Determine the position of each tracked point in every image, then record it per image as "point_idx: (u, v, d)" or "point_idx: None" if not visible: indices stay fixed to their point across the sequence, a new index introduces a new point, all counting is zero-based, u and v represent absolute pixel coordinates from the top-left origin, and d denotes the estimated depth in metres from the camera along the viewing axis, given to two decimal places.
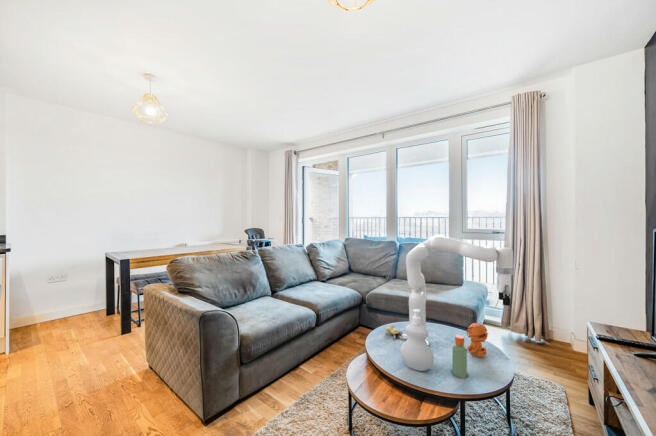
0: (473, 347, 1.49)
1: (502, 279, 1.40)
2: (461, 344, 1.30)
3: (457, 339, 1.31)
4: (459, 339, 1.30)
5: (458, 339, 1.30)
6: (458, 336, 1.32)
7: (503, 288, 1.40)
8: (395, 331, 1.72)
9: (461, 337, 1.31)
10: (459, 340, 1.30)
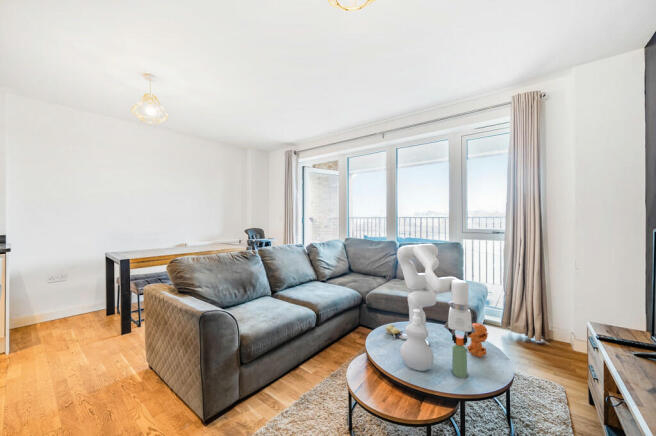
0: (473, 347, 1.49)
1: (470, 316, 1.28)
2: (461, 344, 1.30)
3: (457, 339, 1.31)
4: (459, 339, 1.30)
5: (458, 339, 1.30)
6: (458, 336, 1.32)
7: (471, 325, 1.28)
8: (395, 331, 1.72)
9: (461, 337, 1.31)
10: (459, 340, 1.30)
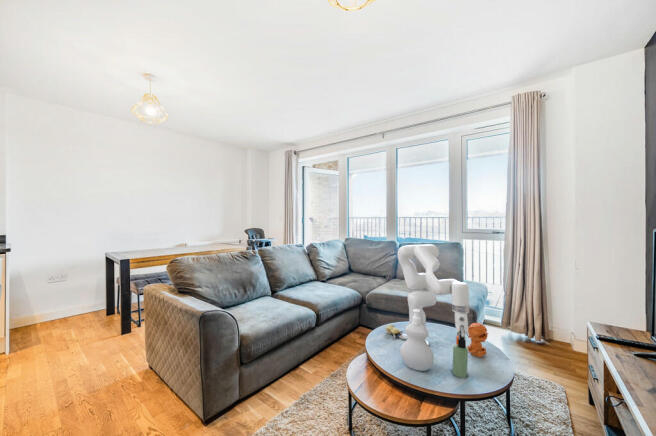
0: (473, 347, 1.49)
1: None
2: None
3: None
4: (465, 339, 1.30)
5: (465, 339, 1.30)
6: None
7: None
8: (395, 331, 1.72)
9: None
10: None
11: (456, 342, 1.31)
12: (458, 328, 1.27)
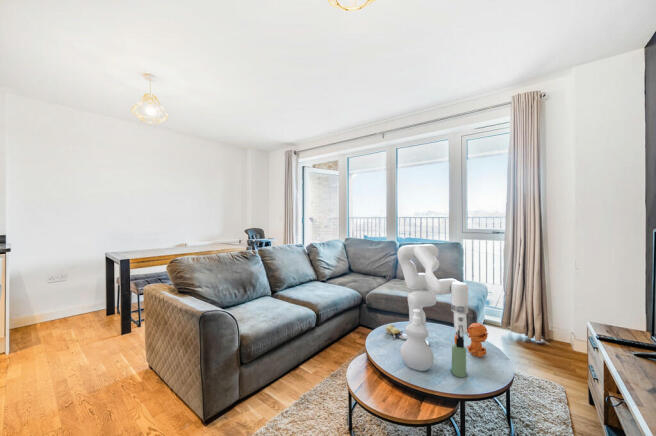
0: (473, 347, 1.49)
1: None
2: None
3: None
4: None
5: None
6: None
7: None
8: (395, 331, 1.72)
9: None
10: None
11: None
12: (457, 328, 1.28)
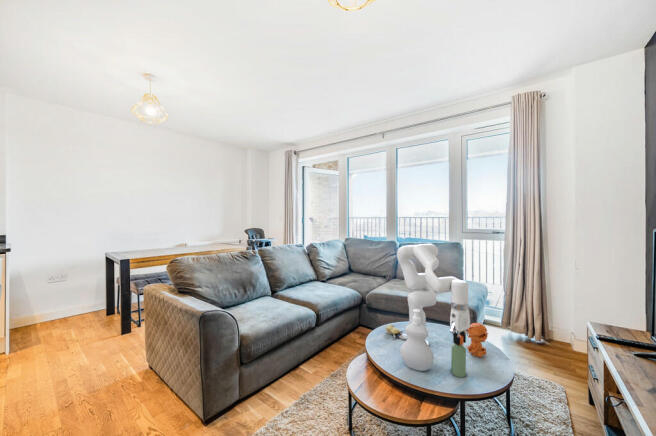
0: (473, 347, 1.49)
1: None
2: None
3: None
4: None
5: None
6: (459, 336, 1.32)
7: None
8: (395, 331, 1.72)
9: None
10: None
11: None
12: (450, 323, 1.30)
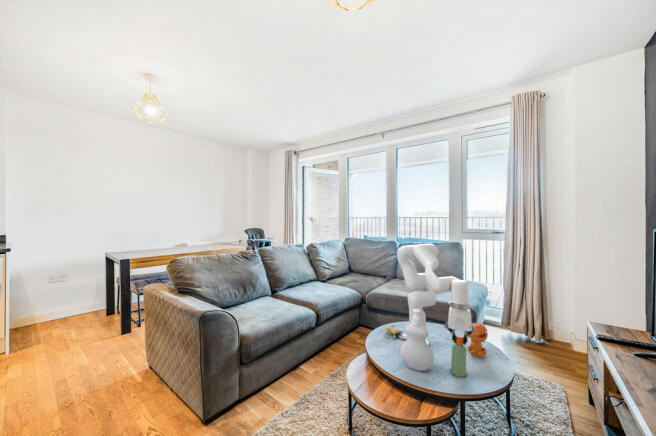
0: (473, 347, 1.49)
1: (470, 316, 1.28)
2: None
3: None
4: None
5: None
6: (460, 336, 1.32)
7: (471, 325, 1.28)
8: (395, 331, 1.72)
9: (457, 335, 1.33)
10: None
11: (461, 343, 1.30)
12: None
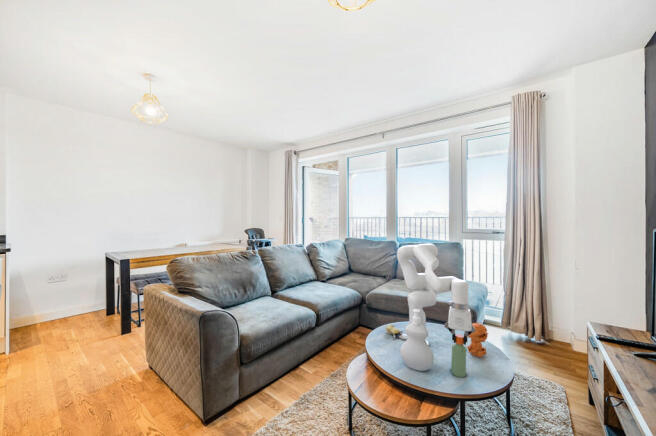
0: (473, 347, 1.49)
1: (470, 315, 1.28)
2: (455, 341, 1.32)
3: None
4: (455, 336, 1.33)
5: (455, 336, 1.33)
6: (459, 335, 1.32)
7: (471, 325, 1.28)
8: (395, 331, 1.72)
9: (458, 336, 1.31)
10: (455, 337, 1.33)
11: None
12: None
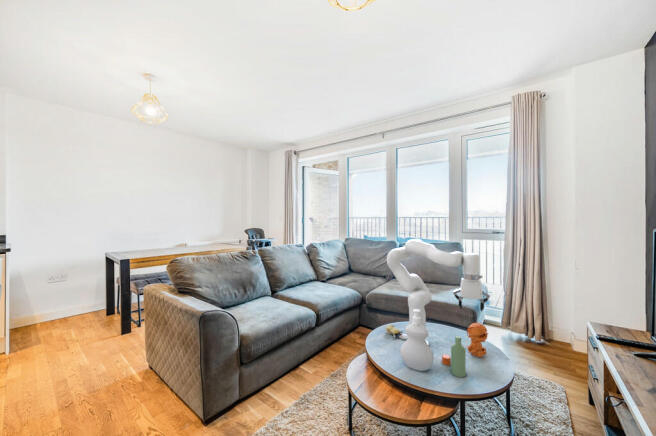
0: (473, 347, 1.49)
1: None
2: None
3: (450, 359, 1.40)
4: (450, 358, 1.41)
5: (450, 359, 1.40)
6: (446, 357, 1.41)
7: None
8: (395, 331, 1.72)
9: (447, 355, 1.42)
10: None
11: (442, 362, 1.41)
12: (481, 294, 1.38)
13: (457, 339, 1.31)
